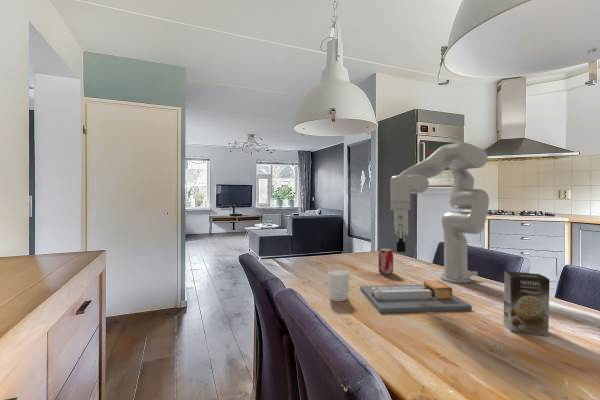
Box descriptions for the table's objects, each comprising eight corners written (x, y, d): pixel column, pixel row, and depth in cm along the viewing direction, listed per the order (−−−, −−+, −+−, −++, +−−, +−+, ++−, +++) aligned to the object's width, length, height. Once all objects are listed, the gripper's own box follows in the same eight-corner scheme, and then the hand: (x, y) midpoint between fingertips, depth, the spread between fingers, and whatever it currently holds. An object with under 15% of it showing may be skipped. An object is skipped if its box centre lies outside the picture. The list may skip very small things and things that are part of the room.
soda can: (394, 274, 144) (394, 250, 144) (380, 274, 144) (380, 250, 144) (390, 271, 151) (390, 248, 151) (377, 271, 151) (377, 248, 151)
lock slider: (438, 290, 115) (438, 280, 115) (452, 298, 106) (452, 287, 106) (423, 290, 114) (423, 281, 114) (436, 298, 105) (436, 288, 105)
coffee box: (510, 332, 83) (510, 276, 83) (502, 322, 89) (503, 270, 89) (549, 336, 80) (550, 279, 80) (539, 327, 86) (539, 273, 86)
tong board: (434, 287, 123) (434, 277, 123) (471, 309, 99) (471, 297, 99) (360, 289, 121) (360, 279, 121) (380, 312, 97) (379, 300, 97)
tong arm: (422, 291, 113) (422, 285, 113) (426, 294, 110) (426, 287, 110) (370, 293, 111) (370, 287, 111) (372, 295, 109) (372, 289, 109)
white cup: (324, 298, 111) (324, 272, 111) (336, 293, 117) (336, 268, 117) (341, 303, 106) (341, 276, 106) (353, 298, 112) (352, 272, 112)
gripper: (410, 207, 109) (411, 256, 109) (410, 205, 123) (410, 248, 123) (389, 207, 111) (390, 254, 112) (391, 205, 125) (392, 247, 126)
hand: (401, 251), depth 118 cm, fingers closed
